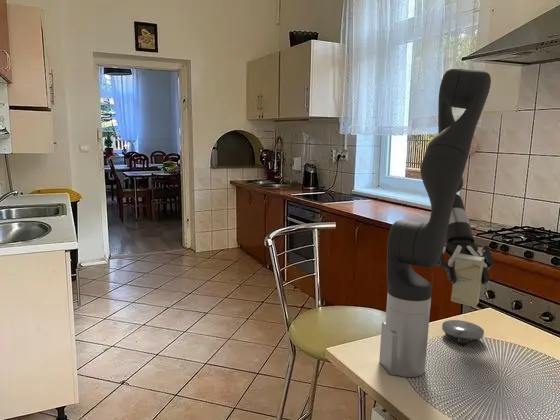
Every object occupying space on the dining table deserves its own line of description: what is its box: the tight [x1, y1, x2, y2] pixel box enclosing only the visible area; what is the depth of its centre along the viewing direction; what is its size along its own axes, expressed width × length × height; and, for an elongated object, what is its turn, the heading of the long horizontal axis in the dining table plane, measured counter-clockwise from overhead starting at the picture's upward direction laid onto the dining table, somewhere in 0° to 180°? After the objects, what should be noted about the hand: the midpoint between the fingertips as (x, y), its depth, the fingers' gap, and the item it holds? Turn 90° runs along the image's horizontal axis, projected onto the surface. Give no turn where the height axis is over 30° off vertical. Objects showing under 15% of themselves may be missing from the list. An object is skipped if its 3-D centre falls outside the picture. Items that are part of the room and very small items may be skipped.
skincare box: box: [450, 253, 484, 308], centre depth 111 cm, size 6×4×12 cm
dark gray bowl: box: [441, 319, 485, 347], centre depth 113 cm, size 10×10×3 cm
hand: (469, 282), depth 110 cm, fingers closed on skincare box, 7 cm apart
